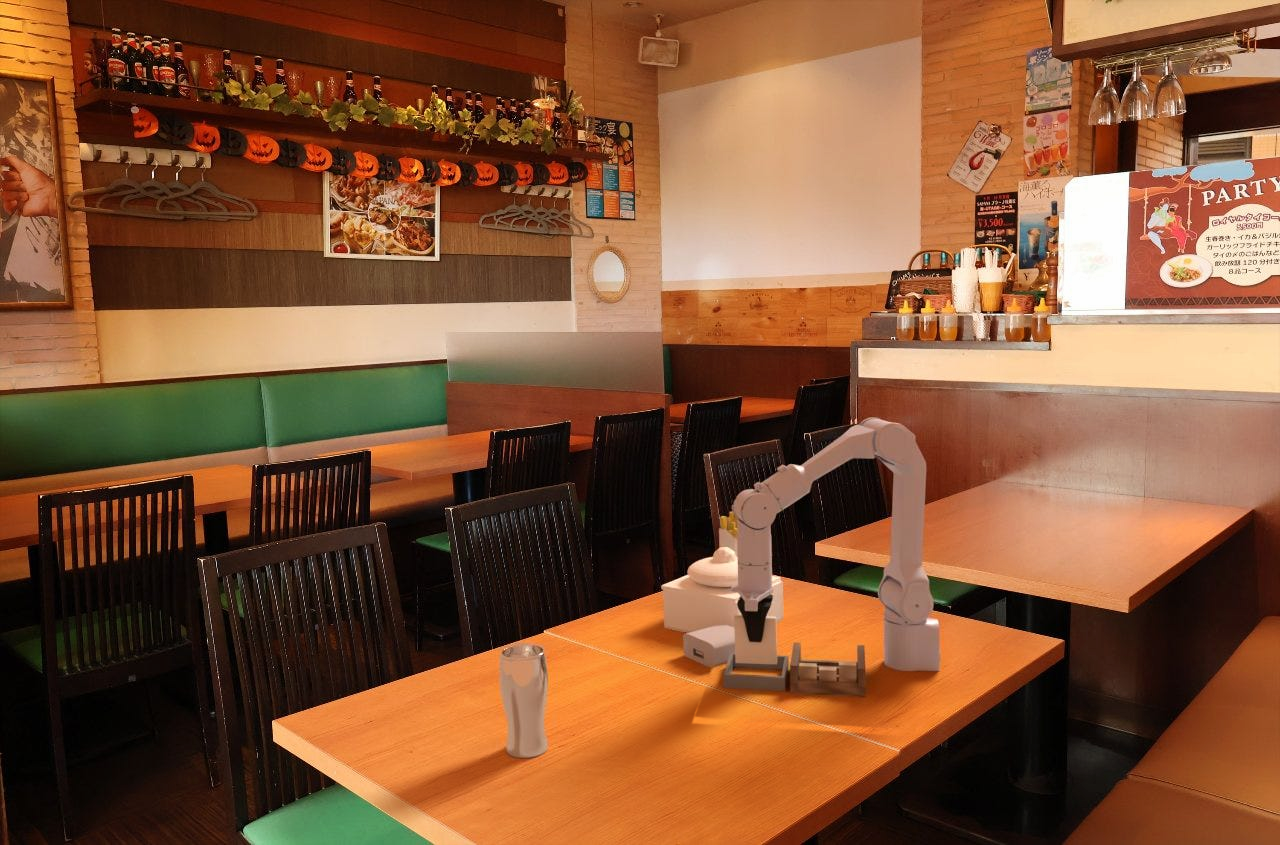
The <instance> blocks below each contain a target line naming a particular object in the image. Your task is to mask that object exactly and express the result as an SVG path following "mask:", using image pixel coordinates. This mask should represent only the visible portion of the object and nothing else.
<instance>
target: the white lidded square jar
mask: <svg viewBox="0 0 1280 845" xmlns="http://www.w3.org/2000/svg"><path fill="white" fill-rule="evenodd" d="M686 572H687V574H686V575H684V576H681V577H679V578H677V579H673V580H672V581H669V582H667V583H664V584H662V585H661V587H660V588H661V590H662V596H663V597H662V600H663V627H664V629H667V628H668V630H671V629H672V631H677V632H682V633H685V632H686V633H690V632H694V631H698V630H701V629H705V628H709V627H712V626H716V625H720V624H726V625H728V626H731V627H734V616H735V615H742V614H741V612H740V611H739V609H738V606H737V602H738V600H739V598H740V595H739V594H738V593H737V592H732V591H731V586H732V585H738V561H737V557H736V555H735V552H734V551H733V550H731V549H730V548H728V547H721V548H719V547H718V549H716V550H715V551H714V553H713V555H712V556H711V557H710V556H709V557H705V558H702V559H699V560H697V561H695V562H694V563H692V564H691V565H690V566H689V567H688V569H687V571H686ZM772 586H773V593H772V594H771V595H773V600H772V602H771V603H772V604H771V607H770V609H769V611H768V613H767V616H776V624H777V623H778V622H780V621H783V620H784V582H783V580H781V577H780V576H775V575H772ZM686 633H685V634H686Z"/></svg>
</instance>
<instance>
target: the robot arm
mask: <svg viewBox="0 0 1280 845" xmlns="http://www.w3.org/2000/svg"><path fill="white" fill-rule="evenodd" d="M916 438H917V437H916V435H915V434H914V433H913V432H912V431H911V430H909V429H908V428H907V427H906V426H904V425H903V424H901V423H899V422H898V423H897V422H891V421H887V420H884V419H881V418H879V417H868V418H865V419H863V420H862V421H861V422H860V423H859V424H856V425H853V426H851V427H849V429H848V430H847V431H845V432H844V433H843V434H842V435H840V436H839V437H838V438H836V439H835V440H833V442H831V443H830V444H828V445H827V446H826V447H824V448H823V449H822V450H820V451H819V452H817V453H816V454H814V455H813V456H812V457H810V458H809V459H807V460H806V461H805V462H804V463H802V464H801V465H799V464H792V463H790V464H788V465H787V466H786V465H784V464H781V465H780V466H777V468H776V470H777V471H776V472H775V473H774V474H773V475H771V476H769V477H768V478H767V479H765V480H763V481H762V482H759V481H757V482H755V483H754V484H753V487H754V489H753V488H750V489H748V488H747V489H744V490H742V491H741V492H740V493H738V495H737V496H736V498H735V499H734V500H733V504H732V505H731V510H732V511H731V512H733V513H734V518H735V517H736V518H737V519H738V520H737V532H738V533H737V561H738V585H732V586H731V591H732V592H737V593H738V594H739V595H740V598H739V600H738V602H737V606H738V609H739V611H740V612H741V614H742V616H743V619H744V622H745V626H746V631H747V636H748V639H749V642H761V641H762V638H763V633H764V625H765V619H766V616H767V613H768V611H769V609H770V607H771V604H772V603H771V602H772V600H773V595H771V594H772V593H773V586H772V576H773V567H772V565H773V564H772V563H773V562H772V560H773V559H772V557H773V556H772V554H773V553H772V534H771V533H772V532H771V531H772V529H771V526H772V524H773V523H774V521H775V519H776V516H777V514H778V513H781V512H782V511H783V510H784V509H786V508H788V507H790V506H791V505H792V504H795V502H797V501H799V500H800V499H802V498H803V497H804V496H806V495H807V494H809V493H810V492H811V489H812V484H813V483H814V481H816V480H818V479H819V478H821V477H823V476H824V475H826V474H828V473H829V472H832V471H833V470H835V469H836V468H838V467H840V466H841V465H844V464H845V463H846V462H849V461H850V460H853V459H869V460H871V459H872V460H873V459H875V458H877V459H878V460H879V461H880V462H882V463H883V465H885V466H886V468H888V469H889V470H890V471H891V472H892V473H893V479H892V480H893V481H892V483H893V484H892V507H891V508H892V510H891V530H890V532H891V534H890V554H889V556H890V557H889V562H888V563H887V565H886V566H885V567H884V568H883V575H882V576H883V577H882V579H881V581H880V583H879V586H878V588H877V595H878V596H877V597H878V599H879V602H880V603H881V604H882V605H883V606H884V612H883V663H884V665H885V666H886V667H888V668H890V669H894V670H897V671H904V672H913V671H915V672H916V671H926V672H927V671H928V672H930V671H931V672H940V662H941V650H940V649H941V648H940V644H941V642H940V625H939V624H940V623H939V620H938V619H937V618H931V617H930V616H931V614H932V612H933V611H934V610H933V609H934V598H933V596H932V594H931V590H930V580H929V577H928V576H927V574H926V571H925V569H924V567H923V551H924V550H923V549H924V531H925V530H924V528H925V509H926V508H925V506H926V505H925V504H926V487H927V486H926V484H927V483H926V481H927V462H926V460H925V458H924V456H923V453H922V451H921V450H920V448H919V446H918V444H917V442H916Z"/></svg>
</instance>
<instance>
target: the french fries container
mask: <svg viewBox="0 0 1280 845" xmlns="http://www.w3.org/2000/svg"><path fill="white" fill-rule="evenodd" d="M728 515H729V516H728V517H727V516H726V515H725V516H724V515H722V516H720V517H719V522H720V524H719V525H720V527H719V528H718V537H719V538H718V539H719V542H718V543H719V544H718V545H719V547H718V549H719V548H721V547H728V548H730V549H731V550H733V551H734V552H735V555H736V557H737V533H738V532H737V520H738V519H737V518H736V517H735V515H734V513H733V511H729V514H728Z"/></svg>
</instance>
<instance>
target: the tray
mask: <svg viewBox="0 0 1280 845" xmlns="http://www.w3.org/2000/svg"><path fill="white" fill-rule="evenodd" d="M789 657H790V656H789V655H780V654H777V664H749V663H735V653H730V655H729V658H728V661H727V662H726V665H725V667H724V670H723V673H722V685H723V686H722V688H723V689H741V690H761V691H762V690H763V691H778V692H779V691H780V692H781V691H782V692H786V687H787V682H788V680H787V679H788V674H789V671H790V662H789V661H790V659H789ZM734 668H748V669H752V668H753V669H770V670H773V669H774V670H782V672H781V676H780V675H761V674H741V673H738V674H737V673H733V669H734Z"/></svg>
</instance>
